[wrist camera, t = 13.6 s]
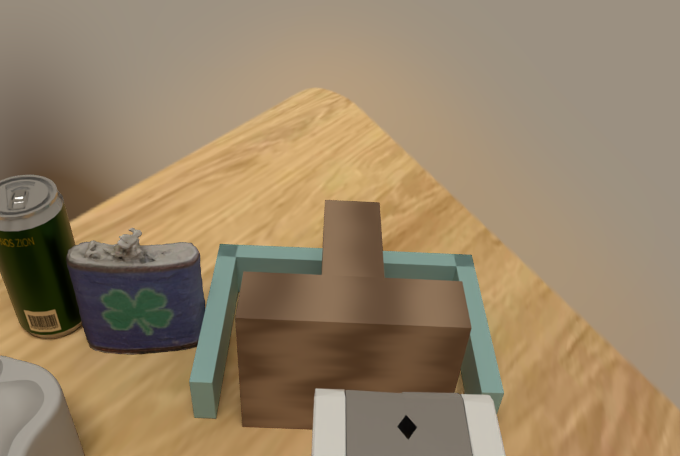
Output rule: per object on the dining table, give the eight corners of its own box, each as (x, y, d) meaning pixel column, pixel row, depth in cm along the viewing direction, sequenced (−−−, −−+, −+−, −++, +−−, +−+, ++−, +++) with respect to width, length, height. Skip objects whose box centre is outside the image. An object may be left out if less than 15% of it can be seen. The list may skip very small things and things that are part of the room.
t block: (242, 426, 45) (235, 317, 38) (260, 302, 54) (256, 196, 47) (442, 434, 45) (471, 327, 39) (426, 309, 55) (447, 205, 48)
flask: (209, 324, 52) (198, 220, 45) (206, 353, 50) (194, 248, 43) (91, 327, 51) (61, 221, 45) (82, 356, 49) (50, 249, 42)
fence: (194, 417, 45) (189, 381, 43) (222, 279, 56) (220, 244, 54) (491, 427, 46) (503, 393, 44) (463, 288, 57) (471, 254, 54)
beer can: (92, 335, 51) (58, 214, 43) (17, 347, 49) (-31, 224, 42) (93, 287, 55) (62, 169, 47) (24, 297, 53) (-19, 177, 46)
